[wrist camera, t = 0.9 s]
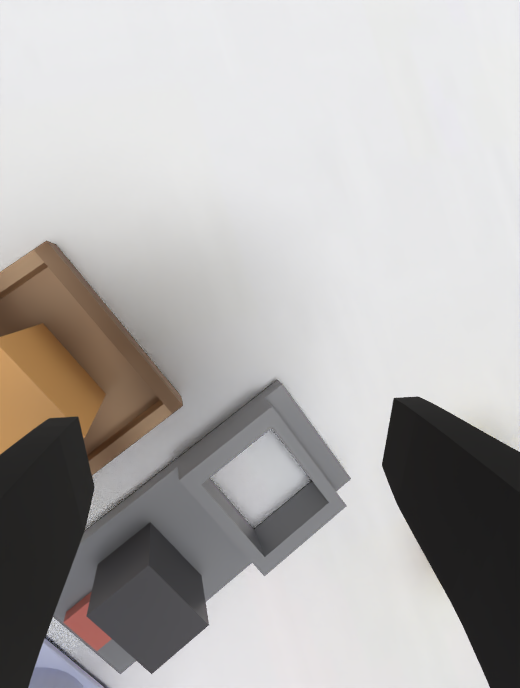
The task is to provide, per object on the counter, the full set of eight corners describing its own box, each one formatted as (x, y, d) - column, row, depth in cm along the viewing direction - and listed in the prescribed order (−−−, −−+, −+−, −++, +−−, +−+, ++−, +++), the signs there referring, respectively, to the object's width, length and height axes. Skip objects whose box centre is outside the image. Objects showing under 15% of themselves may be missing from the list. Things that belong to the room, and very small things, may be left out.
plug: (50, 435, 23) (5, 496, 16) (-45, 339, 21) (-138, 363, 15) (106, 394, 24) (85, 436, 17) (18, 295, 22) (-44, 300, 15)
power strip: (121, 657, 27) (113, 741, 22) (28, 575, 25) (-6, 649, 20) (343, 471, 29) (381, 509, 24) (277, 379, 27) (304, 401, 22)
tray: (42, 502, 24) (32, 521, 22) (-111, 357, 21) (-137, 364, 19) (181, 396, 25) (183, 405, 23) (56, 244, 22) (46, 240, 20)
